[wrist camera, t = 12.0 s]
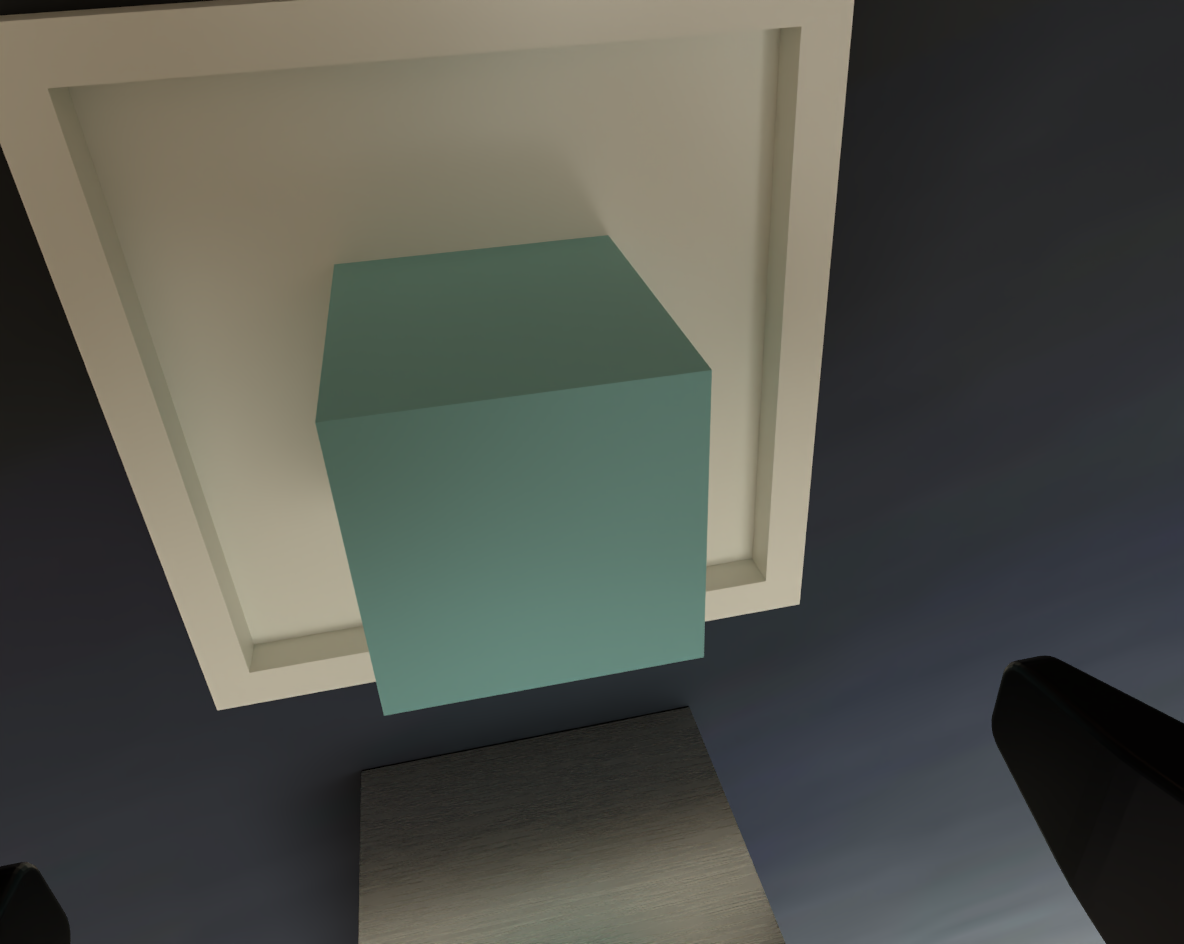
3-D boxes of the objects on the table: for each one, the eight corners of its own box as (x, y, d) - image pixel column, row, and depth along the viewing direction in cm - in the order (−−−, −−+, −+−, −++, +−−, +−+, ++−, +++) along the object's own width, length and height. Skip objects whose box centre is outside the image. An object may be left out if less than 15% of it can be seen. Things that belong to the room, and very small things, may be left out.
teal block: (608, 235, 15) (711, 369, 10) (616, 464, 17) (704, 657, 13) (334, 264, 14) (314, 422, 10) (381, 498, 17) (383, 715, 12)
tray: (817, -43, 14) (857, -41, 13) (775, 565, 20) (799, 604, 19) (-7, 15, 12) (-46, 25, 11) (227, 661, 19) (217, 710, 17)
